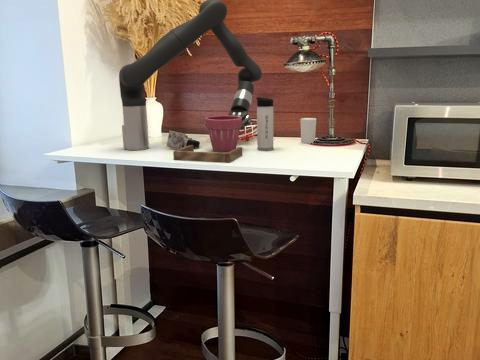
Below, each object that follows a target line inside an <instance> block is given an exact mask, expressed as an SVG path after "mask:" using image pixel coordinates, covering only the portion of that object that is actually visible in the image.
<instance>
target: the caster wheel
mask: <svg viewBox="0 0 480 360" xmlns="http://www.w3.org/2000/svg"><path fill="white" fill-rule="evenodd" d="M166 141H167V142H166V148H170V149H174V150H175V151H176V150H178V149H181V148H184V147H186V146H189V145H193V146H194V149H200V144H201V142H200V141H199V140H196V139H193V137H189V136H188V135H187V134H186V133H183V132H177V131H174V130H170V129H169V131H168V137H167V140H166Z"/></svg>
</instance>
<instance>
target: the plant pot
mask: <svg viewBox="0 0 480 360" xmlns="http://www.w3.org/2000/svg"><path fill="white" fill-rule="evenodd" d="M204 121H205V128H206V129H207V131H208V135H209V139H210V143H211V148H212V152H216V153H228V152H230V151H232V150H234V149H236V148H238V147H237V146H238V142H239V141H238V140H239V136H240V132H241V131H240V130H241V127H242V117H240V116H227V115H211V116H206V117H205V120H204Z"/></svg>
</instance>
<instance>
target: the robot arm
mask: <svg viewBox="0 0 480 360" xmlns="http://www.w3.org/2000/svg"><path fill="white" fill-rule="evenodd" d="M227 14H228V8H227V4H225V2H224V1H221V0H204V1H203V2H202V3H201V4H200V5H199V9H198V13H197V15H196V16H194V17H193V18H192V19H190V20H188V21H184V22H183V23H181V24H179V25H177V26H175V27H173V28H172V29H170V30H169V31H167V33H165V34H164V35H163V36H162V37H161V38H160V39H158V41H156V43H155V44H154V45H153V46H152V47H151V48H150V50H148V51H147V52H146V53H145V54H144V55H143V56H141V57H140V58H138V59H136V60H135V61H133V62H132V63H130V64H129V63H128V64H125V65H124V66H122V67H121V68H120V70H119V73H118V82H119V93H120V99H121V104H122V105H121V106H122V107H121V108H122V118H123V124H122V126H121V131H122V132H121V133H122V144H123V149H124V150H128V151H142V150H147V149H149V148H150V142H149V131H148V130H149V129H148V115H147V114H148V113H147V100H146V97H145V91H144V84H145V83H147V81H148V80H149V79H150V78H151V77H152V76H153V75H154V74H155V73H156V72H157V71H158V70H160V69H161V68H162V67H164V66H166V65H167V64H169V63H170V62H171V61H173V60H174V59H176V58H177V57H178V56H180V55H181V54H182V53H184V51H186V50H187V49H188V48H189V47H191V45H193V44H194V43H195V42H197V40H198V39H200V38H201V37H202V36H203V35H204V34H207V32H209V31H211V32H212V33H213V34H214V36H216V38H217V40H218V41H219V43H220V44H221V45H222V47H223V48H224V50H225V52H226V53H227V55H228V57H229V58H230V61H232V63H233V65H234V66H236V67H238V68H241V69H240V70H239V71H238V73H237V85H238V86H237V89H236V93H235V95H234V97H233V101H232V103H231V108H230V111H229V112H228V115H227V114H226V116H240V117H242V127H241V128H240V130H243V129H245V127H247V126H249V124H251V123H252V122H253V119H252V117H251V115H249V112H250V108H251V105H252V100H253V99H252V98H253V94H254V91H255V85H254V84H253V83H254V82H257V81H260V80H261V79H262V77H263V76H262V75H263V72H262V71H263V70H262V69H261V67H260V66H259V64H258V63H257V62H255V61H254V60H253V59H252V58H251V56H249V55H248V53H247V51H246V50H245V47H244V46H243V44H242V43H241V42H240V40H239V39H238V38H237V37H236V36H235V35H234V34H233V33H232V32H231V30H230V29H229V28H228V26H227V25H226V23H225V22H224V20H225V19H226V17H227Z"/></svg>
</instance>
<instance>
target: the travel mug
mask: <svg viewBox="0 0 480 360" xmlns="http://www.w3.org/2000/svg"><path fill="white" fill-rule="evenodd" d="M255 99H256V104H257V105H256V119H257V120H256V125H257V127H256V129H257V130H256V131H257V134H256V135H257V137H256V138H257V139H256V140H257V143H256V144H257V145H256V147H257V150H258V151H261V152H265V151H266V152H269V151H270V152H271V151H273V150H274V99H273V98H268V97H267V98H265V97H260V96H258V97H256V98H255Z"/></svg>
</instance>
